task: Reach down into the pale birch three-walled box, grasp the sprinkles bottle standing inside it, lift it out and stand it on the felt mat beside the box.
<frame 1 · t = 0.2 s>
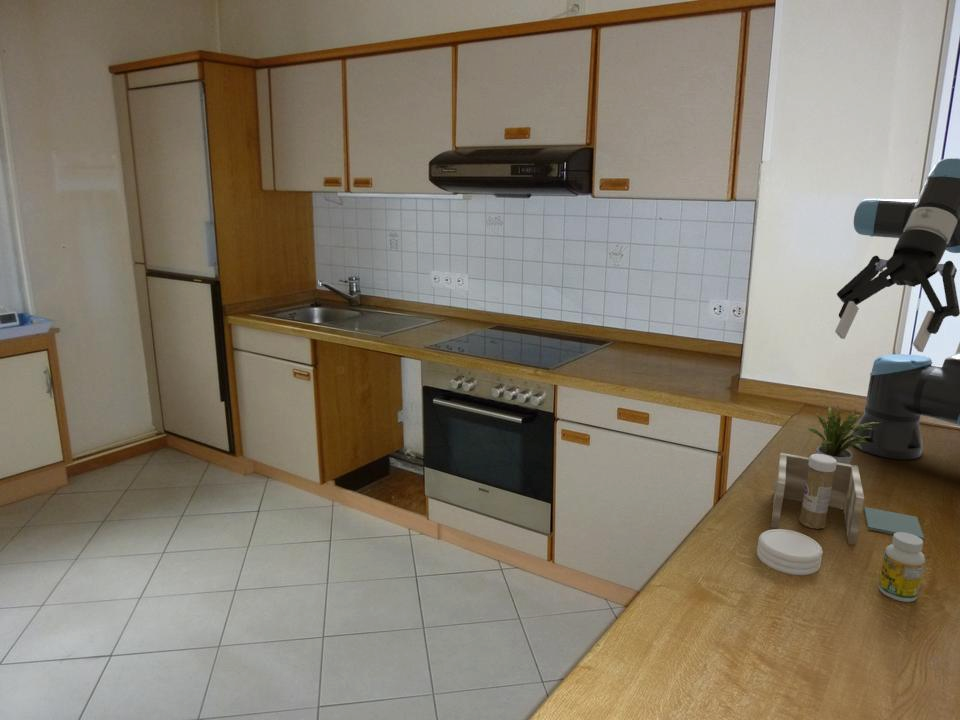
hand: (876, 341, 125), 35 cm above the table, tool tilted 35°, fingers open, 13 cm apart
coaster: (787, 561, 120), on the table
sprinkles bottle: (811, 525, 133), on the table
birch box: (811, 517, 135), on the table
felt mat: (892, 524, 134), on the table
supplement bottle: (896, 594, 111), on the table
house plant: (830, 481, 153), on the table
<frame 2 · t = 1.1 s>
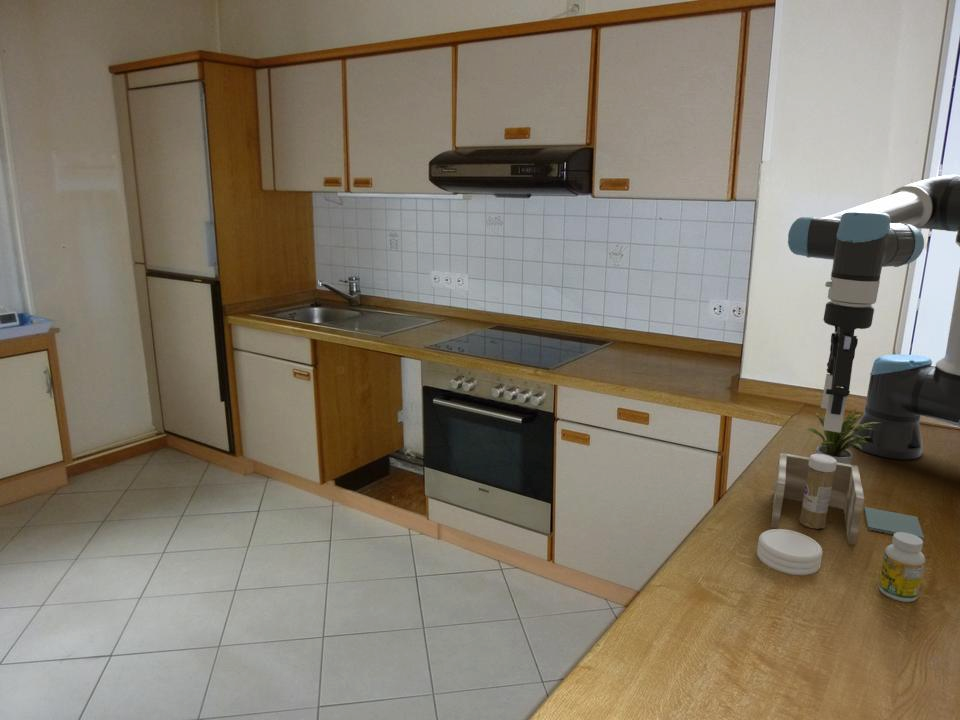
hand: (830, 419, 127), 21 cm above the table, tool pointing down, fingers open, 13 cm apart
nothing on the table moved.
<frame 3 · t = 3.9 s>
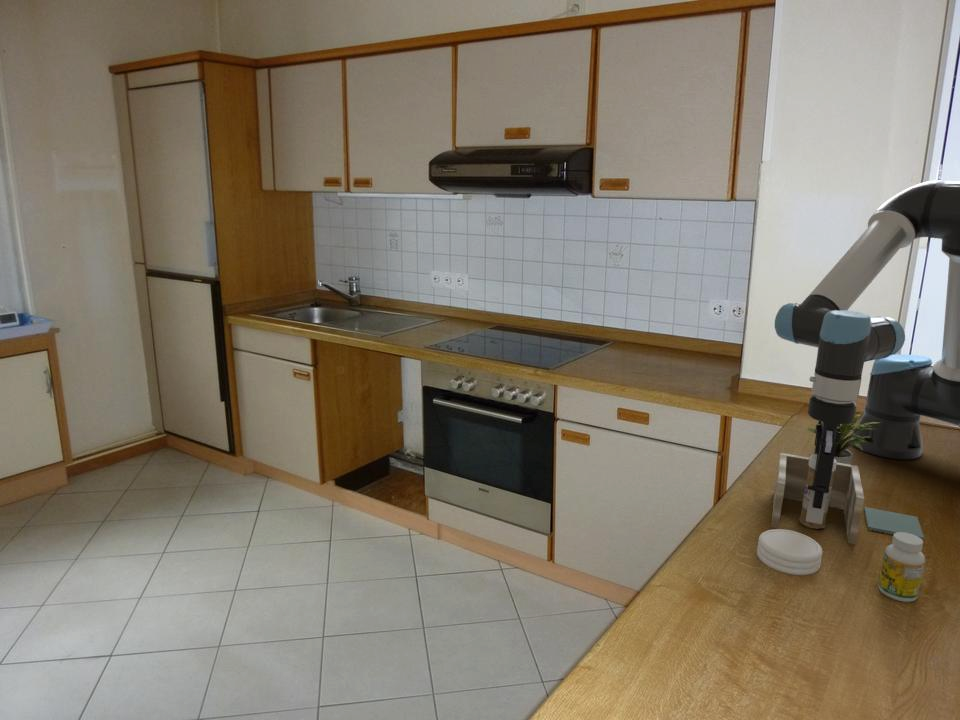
hand: (813, 515, 132), 2 cm above the table, tool pointing down, fingers closed on sprinkles bottle, 4 cm apart
sprinkles bottle: (811, 525, 133), on the table, touching gripper
everything else where it was.
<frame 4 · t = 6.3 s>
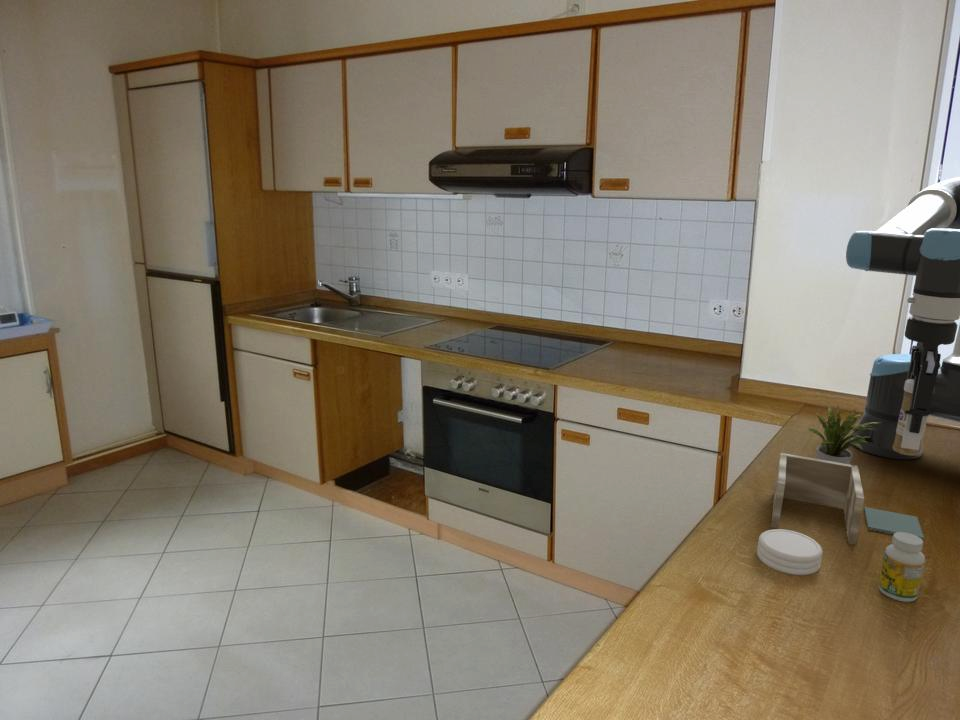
hand: (907, 443, 130), 16 cm above the table, tool pointing down, fingers closed on sprinkles bottle, 4 cm apart
sprinkles bottle: (906, 452, 130), point 15 cm above the table, touching gripper
everything else where it was.
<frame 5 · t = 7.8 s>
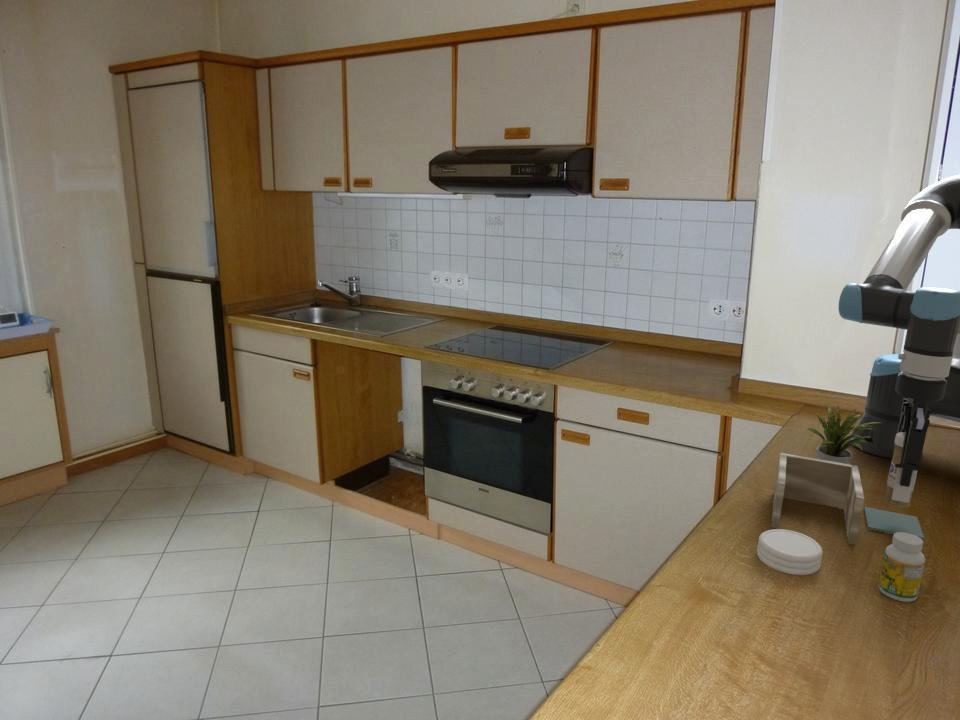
hand: (898, 494, 132), 6 cm above the table, tool pointing down, fingers closed on sprinkles bottle, 4 cm apart
sprinkles bottle: (896, 504, 132), point 4 cm above the table, touching gripper
everything else where it was.
when the fingers open (4 cm above the table, at t = 8.9 s): sprinkles bottle drops 1 cm, resting on felt mat.
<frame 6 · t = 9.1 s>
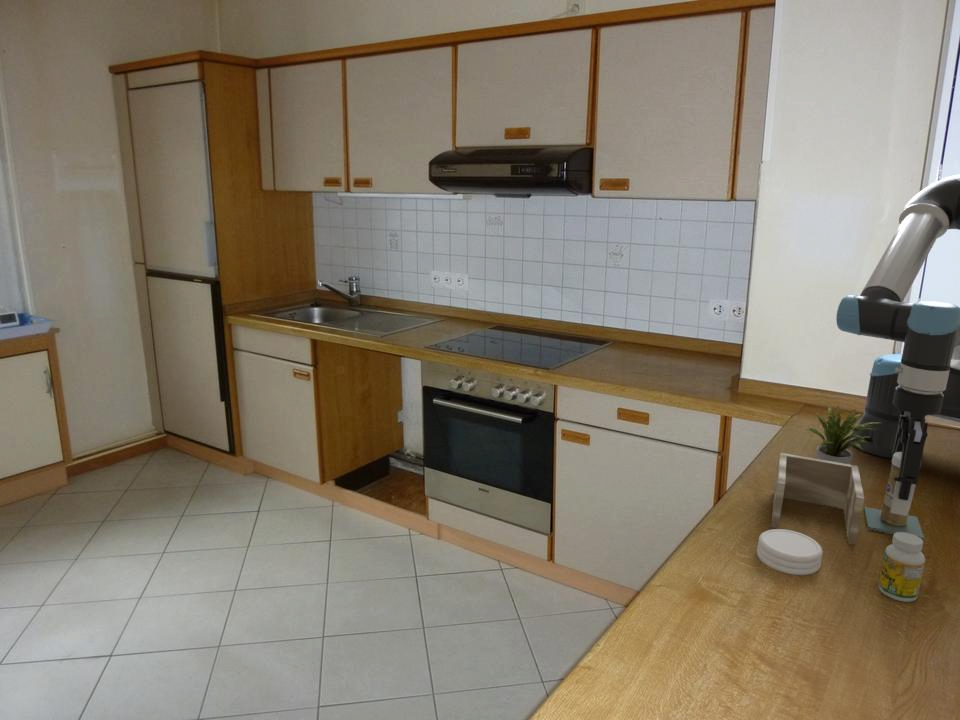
hand: (896, 505, 133), 4 cm above the table, tool pointing down, fingers open, 7 cm apart
sprinkles bottle: (893, 522, 134), resting on felt mat
everything else where it was.
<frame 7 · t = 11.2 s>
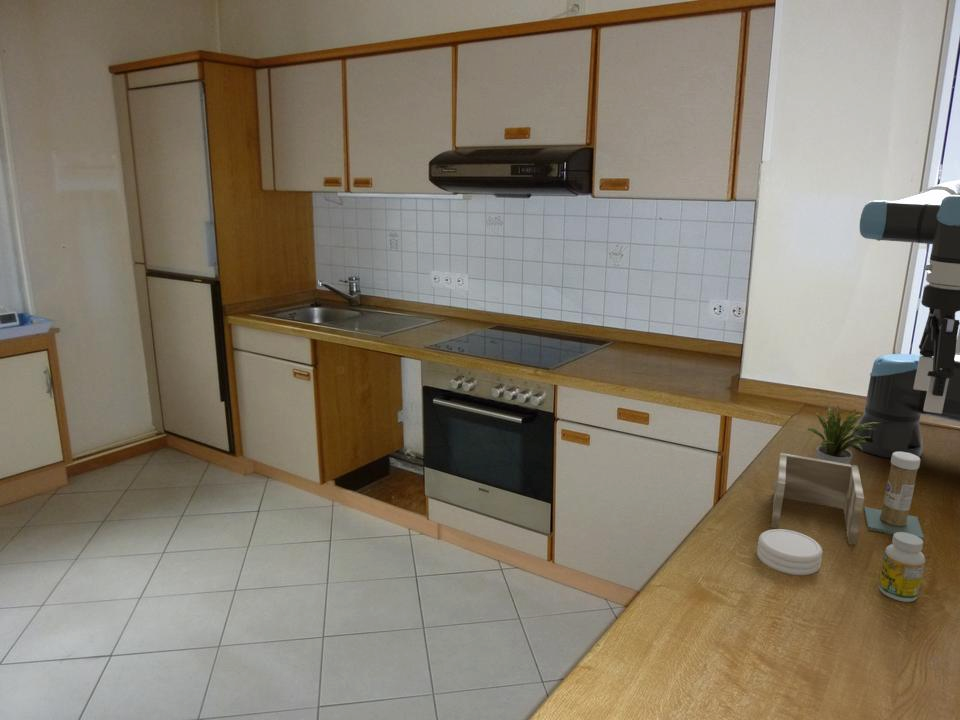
hand: (926, 400, 129), 24 cm above the table, tool pointing down, fingers open, 13 cm apart
nothing on the table moved.
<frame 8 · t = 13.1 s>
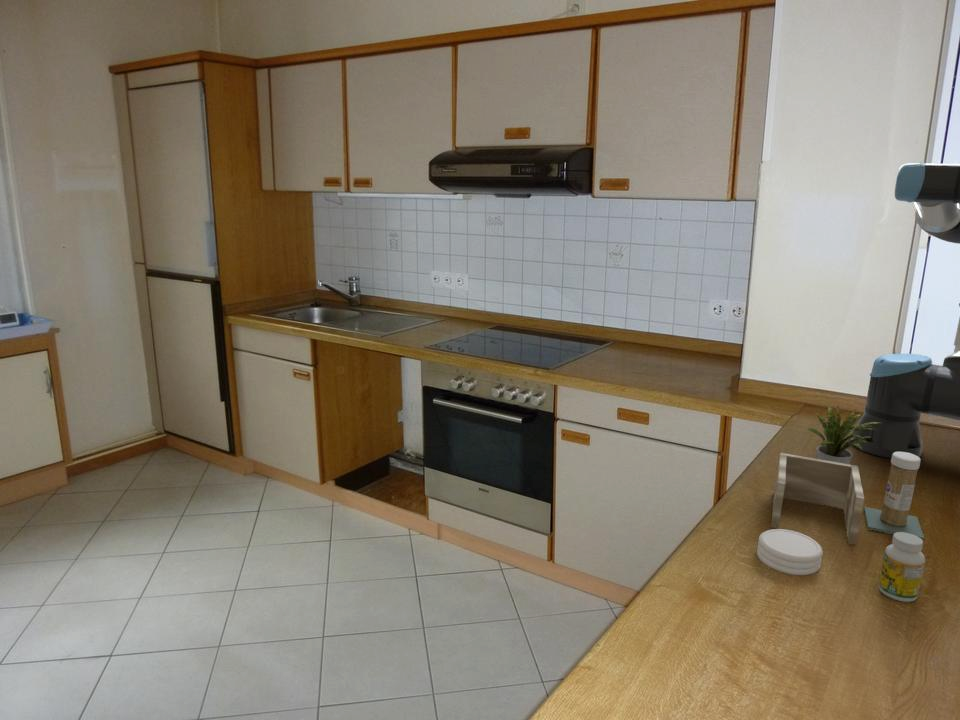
nothing on the table moved.
at the end: sprinkles bottle inside the target area on the felt mat (0.0 cm from its centre), point 0.4 cm above the felt mat's base; sprinkles bottle tilted 0°; the gripper is holding nothing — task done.
